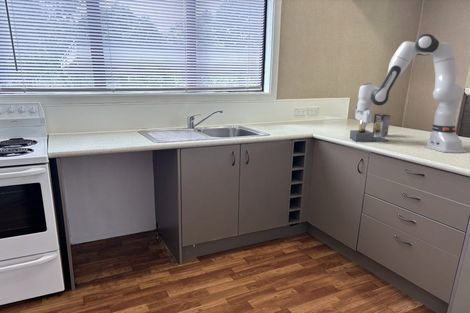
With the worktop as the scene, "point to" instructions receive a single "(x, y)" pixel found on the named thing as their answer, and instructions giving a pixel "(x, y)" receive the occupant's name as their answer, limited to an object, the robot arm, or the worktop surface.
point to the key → (361, 127)
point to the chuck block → (361, 136)
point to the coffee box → (381, 125)
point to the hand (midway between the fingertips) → (362, 127)
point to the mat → (379, 139)
